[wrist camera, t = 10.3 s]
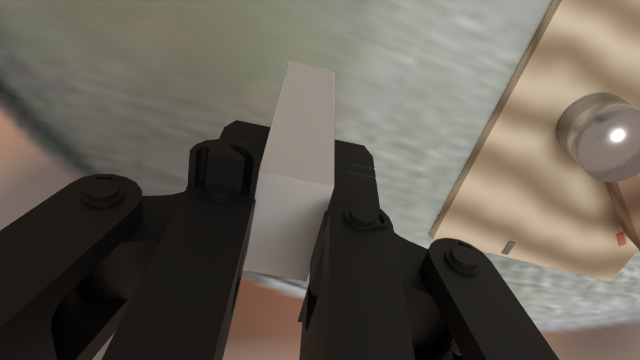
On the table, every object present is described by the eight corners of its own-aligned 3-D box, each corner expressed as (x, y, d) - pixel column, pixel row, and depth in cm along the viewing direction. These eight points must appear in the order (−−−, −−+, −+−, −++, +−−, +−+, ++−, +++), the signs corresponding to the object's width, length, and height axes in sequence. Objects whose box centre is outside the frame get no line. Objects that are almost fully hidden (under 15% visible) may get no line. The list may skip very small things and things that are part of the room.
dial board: (587, -65, 38) (597, -64, 36) (824, 18, 41) (842, 22, 39) (430, 231, 55) (432, 240, 54) (603, 273, 58) (610, 282, 57)
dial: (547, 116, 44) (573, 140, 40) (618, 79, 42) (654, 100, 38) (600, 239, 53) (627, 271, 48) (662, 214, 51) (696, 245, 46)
